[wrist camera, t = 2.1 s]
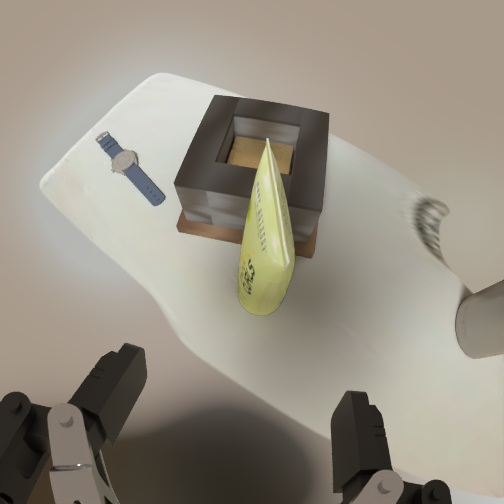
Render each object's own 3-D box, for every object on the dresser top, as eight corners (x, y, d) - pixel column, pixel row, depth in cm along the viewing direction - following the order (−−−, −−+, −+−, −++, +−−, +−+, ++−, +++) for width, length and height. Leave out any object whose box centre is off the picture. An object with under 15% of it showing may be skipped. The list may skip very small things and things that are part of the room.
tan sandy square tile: (292, 151, 34) (293, 145, 33) (284, 197, 31) (285, 192, 30) (236, 141, 34) (236, 136, 33) (221, 185, 32) (220, 180, 31)
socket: (322, 156, 39) (337, 110, 31) (311, 258, 34) (331, 222, 25) (214, 137, 40) (209, 89, 32) (178, 231, 34) (160, 190, 26)
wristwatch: (110, 128, 42) (108, 125, 41) (173, 195, 37) (172, 190, 36) (90, 143, 41) (87, 139, 40) (148, 215, 36) (146, 211, 35)
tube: (224, 290, 32) (198, 187, 14) (256, 259, 33) (268, 134, 15) (262, 326, 30) (288, 264, 12) (293, 292, 32) (352, 195, 14)
